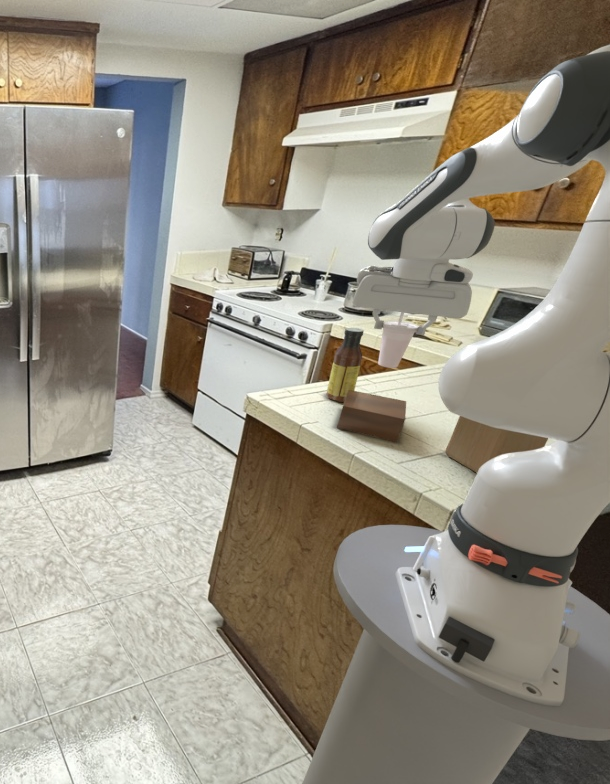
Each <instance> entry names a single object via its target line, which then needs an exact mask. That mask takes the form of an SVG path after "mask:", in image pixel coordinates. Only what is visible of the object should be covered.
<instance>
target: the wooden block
mask: <svg viewBox="0 0 610 784" xmlns="http://www.w3.org/2000/svg"><path fill="white" fill-rule="evenodd" d="M548 440H549V438H545V437H540V436H535V435H529V434H524V433H519V432H514V431H509V430H504V429H499V428H494V427H491V426H488V425H485V424H482V423H479V422H476V421H473V420H470V419H467V418H465V417H462V416H459V417H458V419H457V422H456V424H455V426H454V429H453V432H452V433H451V437H450V438H449V441H448V443H447V446H446V448H445V455H446V456H448V457H449V458H451V459H453V460H454V461H456V462H458V463H459V464H461V465H463V466H465V467H466V468H468V469H469V470H471V471H473V472H474V473H476V474H477V472H478V470H479V468H480V467H481V466H482V465H483V464H485V463H486V462H487V461H489V460H491V459H493V458H495V457H497V456H500V455H503V454H507V453H514V452H523V451H530V450H535V449H539V448H542V447H545V446H546V444H547V442H548Z"/></svg>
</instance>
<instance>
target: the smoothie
mask: <svg viewBox="0 0 610 784" xmlns="http://www.w3.org/2000/svg"><path fill="white" fill-rule="evenodd" d="M404 316H405V312H400V315H399V318H398V321H393V320H392V321H391V320H389V321H384V323H383V326H382V334H381V342H380V347H379V355H378V361H377V365H379V366H380V367H383V368H389V369H395V368H398V367H399V365H400V363H401V361H402V359H403V357H404V355H405V352H406V350H407V348H408V347H409V345H410V343H411V341H412V339H413V337H414V334H416V332H417V328H418V325H415V324H413V323H409V322H405V321H403V319H404V318H403V317H404Z"/></svg>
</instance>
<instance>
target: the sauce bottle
mask: <svg viewBox="0 0 610 784" xmlns="http://www.w3.org/2000/svg"><path fill="white" fill-rule="evenodd" d="M364 331H365V330H364V329H362V328H358V327H346V328H345V330H344V337H343V342H342V345H341V346H339V347H338V348H337V350H335V352H334V357H333V358H334V359H333V362H332V365H331V370H330V374H329V379H328V384H327V387H326V397H327V398H328V399H329V400H331V401H335V402H340V403H344V402H345V399H346V396H347V393H348V390H352V391H356V386H357V383H358V382H357V381H358V377H359V373H360V369H361V365H362V358H363V353H362V351H361V350H362V349H361V347H360V346H361V340H362V337H363V336H364Z"/></svg>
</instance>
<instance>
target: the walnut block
mask: <svg viewBox="0 0 610 784" xmlns="http://www.w3.org/2000/svg"><path fill="white" fill-rule="evenodd" d="M406 414H407V401H406V400H402V399H397V398H392V397H387V396H382V395H378V394H377V395H376V394H372V393H367V392H362V391H357V390H354V391H352V390H348V393H347V396H346V399H345V402H343V405H342V408H341V411H340V415H339V419H338V422H337V424H336V428H337V429H341V430H345V431H348V432H353V433H357V434H360V435H365V436H369V437H373V438H378V439H382V440H386V441H389V442H395V443H398V440H399V438H400V435H401V433H402V430H403V427H404V424H405V421H406Z"/></svg>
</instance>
